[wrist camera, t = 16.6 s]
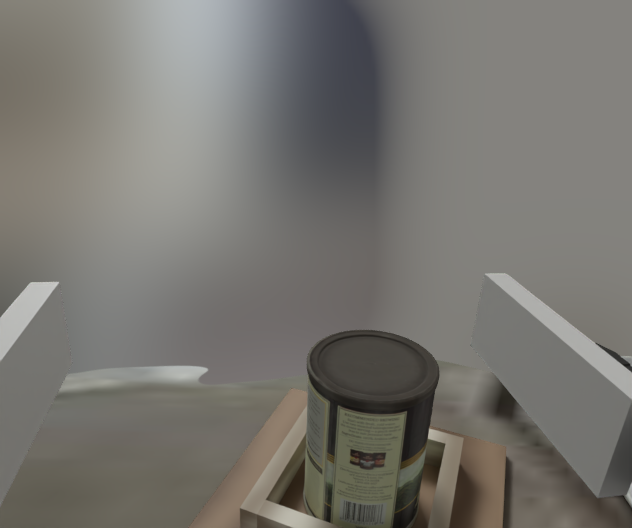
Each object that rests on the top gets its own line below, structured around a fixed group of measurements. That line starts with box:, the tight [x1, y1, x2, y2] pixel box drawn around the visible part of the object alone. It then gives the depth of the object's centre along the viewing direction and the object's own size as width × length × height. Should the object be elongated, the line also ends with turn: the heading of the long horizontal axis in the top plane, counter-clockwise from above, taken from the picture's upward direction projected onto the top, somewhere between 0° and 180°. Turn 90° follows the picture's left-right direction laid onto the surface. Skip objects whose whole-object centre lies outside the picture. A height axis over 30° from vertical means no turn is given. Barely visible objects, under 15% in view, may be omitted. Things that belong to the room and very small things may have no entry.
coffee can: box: [303, 330, 439, 528], centre depth 42 cm, size 10×10×14 cm
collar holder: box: [188, 388, 506, 528], centre depth 44 cm, size 24×24×4 cm
